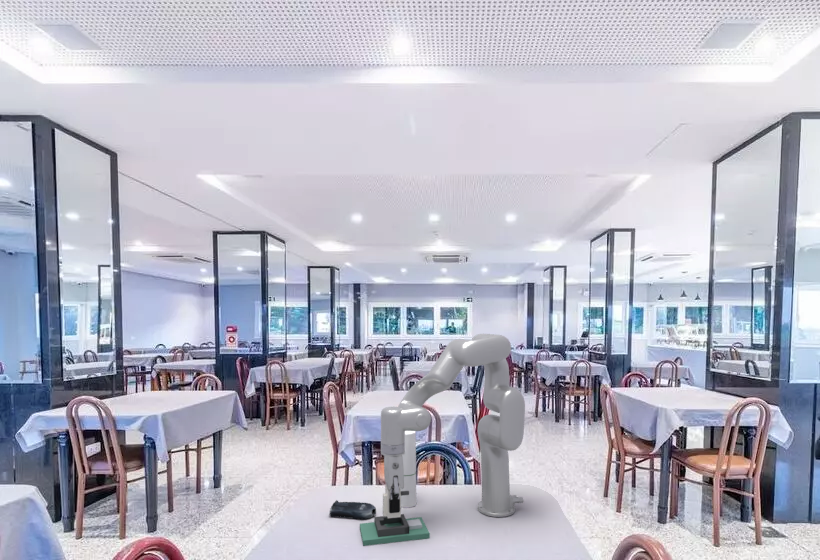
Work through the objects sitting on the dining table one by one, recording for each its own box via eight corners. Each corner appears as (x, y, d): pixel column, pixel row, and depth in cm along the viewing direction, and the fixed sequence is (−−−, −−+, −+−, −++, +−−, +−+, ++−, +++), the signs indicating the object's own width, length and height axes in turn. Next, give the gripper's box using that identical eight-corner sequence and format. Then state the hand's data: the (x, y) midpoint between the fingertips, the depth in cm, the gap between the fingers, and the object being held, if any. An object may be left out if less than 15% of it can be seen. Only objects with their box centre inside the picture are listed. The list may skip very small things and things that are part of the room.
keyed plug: (407, 509, 143) (407, 483, 143) (410, 516, 138) (410, 489, 138) (382, 511, 141) (382, 485, 142) (384, 518, 136) (384, 491, 137)
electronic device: (329, 524, 149) (373, 520, 147) (327, 506, 150) (371, 502, 148) (337, 516, 158) (379, 511, 156) (336, 499, 159) (377, 494, 157)
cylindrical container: (404, 497, 166) (403, 428, 167) (420, 502, 161) (419, 431, 163) (392, 504, 160) (391, 432, 162) (408, 509, 156) (407, 435, 157)
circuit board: (421, 521, 146) (421, 510, 147) (429, 538, 136) (429, 526, 136) (359, 528, 142) (359, 517, 143) (363, 546, 132) (363, 533, 132)
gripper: (410, 455, 133) (410, 519, 132) (399, 440, 150) (399, 496, 148) (384, 457, 132) (384, 522, 130) (377, 441, 148) (377, 498, 147)
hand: (392, 507), depth 139 cm, fingers closed on keyed plug, 4 cm apart
